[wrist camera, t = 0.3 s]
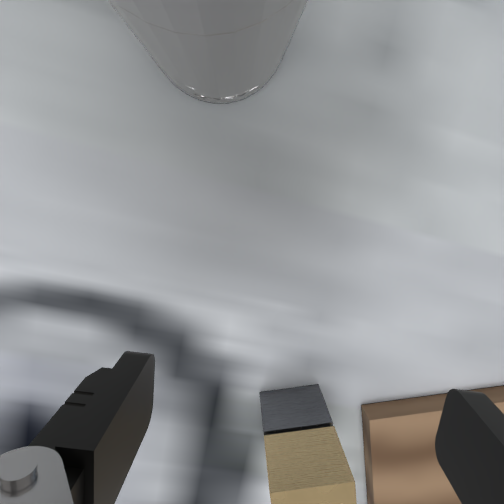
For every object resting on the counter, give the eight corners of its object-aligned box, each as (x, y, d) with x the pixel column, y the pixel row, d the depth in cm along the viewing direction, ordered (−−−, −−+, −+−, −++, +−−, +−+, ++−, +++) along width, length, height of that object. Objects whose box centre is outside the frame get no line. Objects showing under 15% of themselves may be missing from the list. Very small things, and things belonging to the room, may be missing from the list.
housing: (259, 392, 32) (269, 493, 22) (318, 384, 32) (354, 481, 22) (266, 442, 33) (278, 560, 23) (323, 435, 33) (359, 549, 23)
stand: (361, 405, 32) (369, 420, 30) (521, 383, 32) (540, 397, 30) (372, 583, 37) (380, 606, 35) (513, 563, 37) (528, 585, 35)
